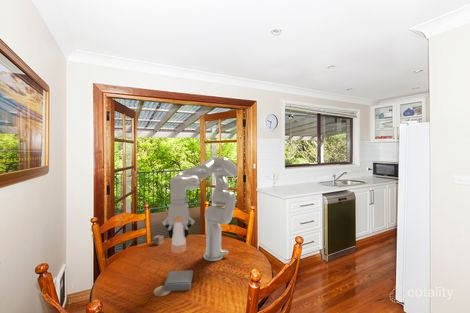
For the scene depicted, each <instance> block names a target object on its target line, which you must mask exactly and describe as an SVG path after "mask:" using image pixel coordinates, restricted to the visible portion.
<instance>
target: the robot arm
mask: <svg viewBox="0 0 470 313" xmlns="http://www.w3.org/2000/svg"><path fill="white" fill-rule="evenodd" d="M238 169H239V168H238V166H237V164H235V163H234V162H233V161H231V160H230V159H229V158H227V157H224V156H223V157H222V156H219V157H218V156H212V157H210V158H209V159H206V160H205V161H204V162H202V163H201V164H198V165H194V166H193V167H189V168H186V169H184V170H182V171H180V172H179V173H177V174H176V175H175V176H173V177H171V178H170V203H169V205H168V210H167V211H168V212H167V217H166V218H165V219H163V221H162V222H161V223H162V225H163V226H164V227H165V228H166V230H168V236H169V239H172V234H173V225H175V223H176V222H174V221H173V218H174V217H182V218H183V219H184V220H183V222H181V225H184V226H185V238H187V237H188V236H189V229H190V228H191V227H192V226H193V225H194V223H195V219H193V218H192V217H191V216H190V208H189V204H188V203H189V202H190V199H189V198H187V191H188V190H189V191H190V190H191V191H192V190H193V191H194V190H196V189H198V188H199V186H200V183H201V181H200V180H203V179H207V178H208V177H210V176H211V175H213V174H214V177H215V181H216V183H215V186H214V190H213V193H212V197H211V202H212V204H214V205H216V206H214V205H210V206H208V207H206V209H205V210H204V219H205V220H204V221H205V231H206V232H205V252H204V254H203V259H204V260H206V261H209V262H218V261H219V260H222V259H223V258H224V255H229V250H227V249H222V227H221V226H222V225H229V224H230V223H231V221H232V218H233V214H234V210H235V207H236V204H237V197H236V194H235V193H234V192H233V191H230V190H229V180H228V179H227V177H228V178H234V177H236V176H237V175H238V172H239V170H238ZM228 190H229V191H228ZM189 222H190V223H189Z"/></svg>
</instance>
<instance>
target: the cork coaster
mask: <svg viewBox="0 0 470 313" xmlns="http://www.w3.org/2000/svg"><path fill="white" fill-rule="evenodd" d="M171 292H172V291H164V285H160V286H158V287H156V288H154V290H153V294H154V295H155V296H157V297H164V296H167V295H168V294H170V293H171Z"/></svg>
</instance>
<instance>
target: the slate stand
mask: <svg viewBox="0 0 470 313" xmlns="http://www.w3.org/2000/svg"><path fill="white" fill-rule="evenodd" d="M193 276H194V274H193V270H192V269H191V270H188V269H187V270H170V271H169V272H168V274H167V277H166V278H165V279H166V280H165V282H164V284H163V286H164V291H171V292H173V291H174V292H175V291H191V289H192V288H191V286H192V282H193Z"/></svg>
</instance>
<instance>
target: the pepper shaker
mask: <svg viewBox="0 0 470 313" xmlns="http://www.w3.org/2000/svg"><path fill="white" fill-rule="evenodd" d="M183 220H184V219H183V218H182V217H174V218H173V221H174V222H176V223H175V225H173V226H172V229H173V234H172V238H171V243H170V251H171V252H172V253H174V254H181V253H184V252H185V251H186V250H187V241H186V238H185V229H186V228H185V226H184V225H181V222H183Z"/></svg>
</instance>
